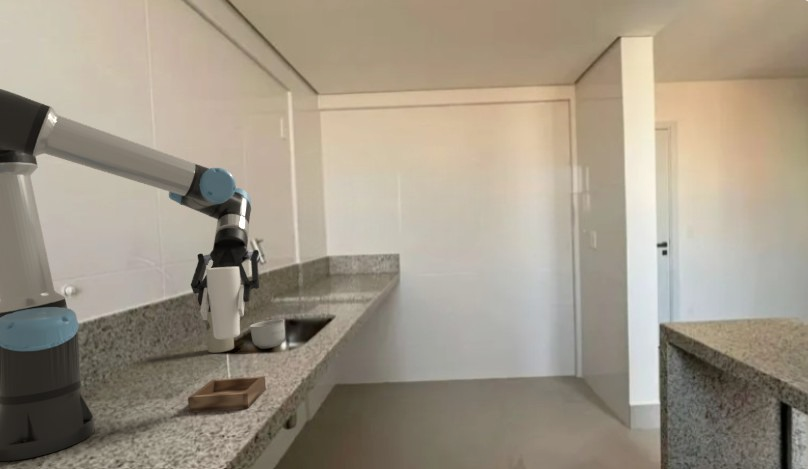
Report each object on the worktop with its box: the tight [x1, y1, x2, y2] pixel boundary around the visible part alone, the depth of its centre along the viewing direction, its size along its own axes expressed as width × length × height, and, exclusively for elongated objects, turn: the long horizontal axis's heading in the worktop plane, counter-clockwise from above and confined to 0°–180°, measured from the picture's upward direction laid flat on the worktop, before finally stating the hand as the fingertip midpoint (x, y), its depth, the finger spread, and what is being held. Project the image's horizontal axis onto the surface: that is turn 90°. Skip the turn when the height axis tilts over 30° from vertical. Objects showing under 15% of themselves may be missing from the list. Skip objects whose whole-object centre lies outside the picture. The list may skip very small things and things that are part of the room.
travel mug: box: [205, 303, 235, 354], centre depth 153 cm, size 8×8×18 cm
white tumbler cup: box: [206, 266, 242, 339], centre depth 101 cm, size 7×7×15 cm
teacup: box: [249, 319, 286, 350], centre depth 156 cm, size 14×11×8 cm
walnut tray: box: [187, 375, 267, 413], centre depth 101 cm, size 12×12×3 cm
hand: (222, 314), depth 98 cm, fingers closed on white tumbler cup, 7 cm apart
